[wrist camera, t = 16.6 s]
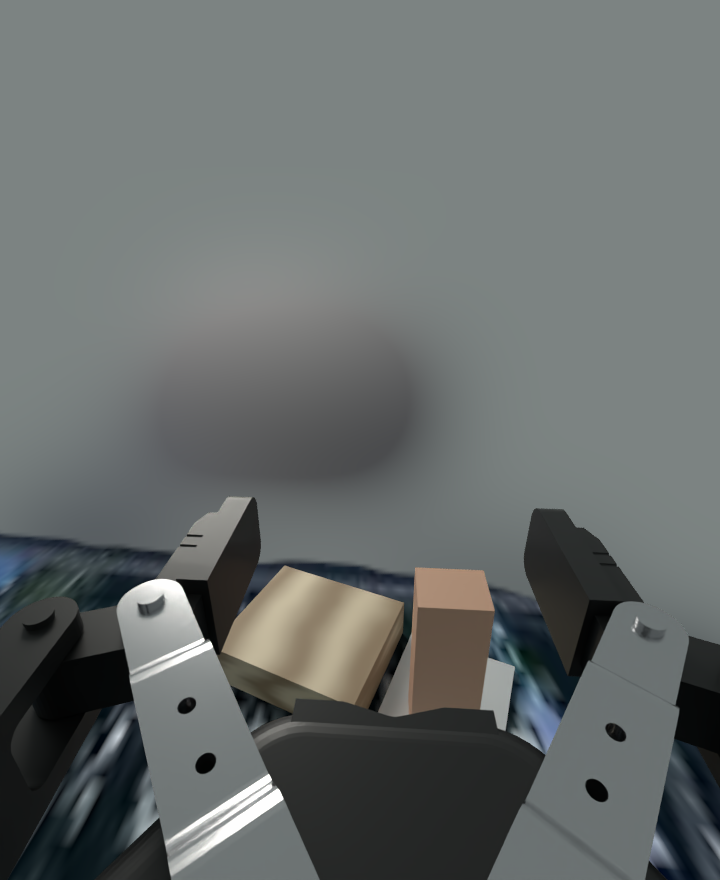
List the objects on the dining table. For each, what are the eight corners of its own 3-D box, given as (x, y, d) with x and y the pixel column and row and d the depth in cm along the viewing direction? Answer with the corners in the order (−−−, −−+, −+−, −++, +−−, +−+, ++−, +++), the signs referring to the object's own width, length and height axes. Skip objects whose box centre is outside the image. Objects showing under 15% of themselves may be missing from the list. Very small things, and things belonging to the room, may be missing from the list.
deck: (215, 678, 41) (210, 646, 39) (287, 593, 51) (284, 565, 49) (353, 741, 36) (353, 707, 34) (402, 632, 46) (404, 602, 44)
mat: (342, 799, 32) (342, 794, 32) (411, 636, 45) (412, 632, 45) (484, 872, 28) (485, 867, 28) (514, 670, 41) (514, 666, 41)
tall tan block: (409, 744, 35) (417, 607, 29) (408, 697, 38) (415, 567, 33) (474, 749, 34) (494, 611, 29) (466, 701, 38) (483, 570, 33)
